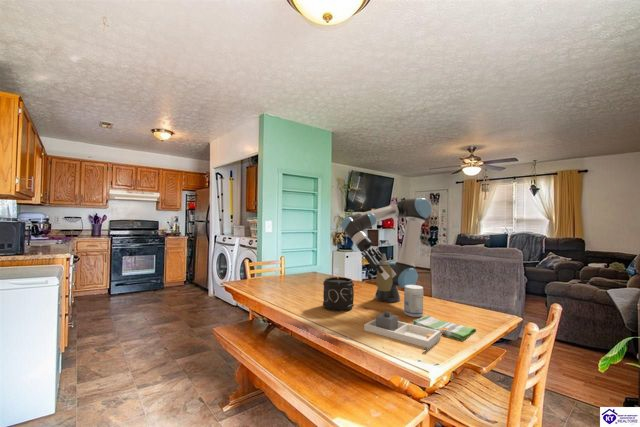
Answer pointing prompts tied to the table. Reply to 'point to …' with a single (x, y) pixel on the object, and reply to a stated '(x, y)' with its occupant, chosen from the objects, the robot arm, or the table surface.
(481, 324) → the table surface
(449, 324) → the dish towel
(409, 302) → the supplement tub
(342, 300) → the black marked cylinder
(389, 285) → the squeeze bottle
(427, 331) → the tray
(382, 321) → the block
